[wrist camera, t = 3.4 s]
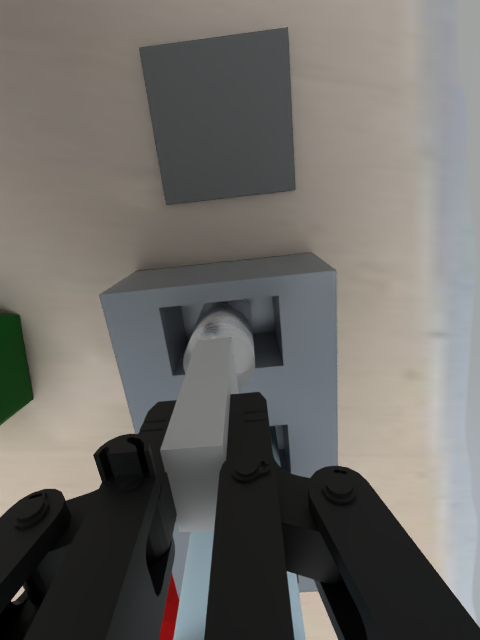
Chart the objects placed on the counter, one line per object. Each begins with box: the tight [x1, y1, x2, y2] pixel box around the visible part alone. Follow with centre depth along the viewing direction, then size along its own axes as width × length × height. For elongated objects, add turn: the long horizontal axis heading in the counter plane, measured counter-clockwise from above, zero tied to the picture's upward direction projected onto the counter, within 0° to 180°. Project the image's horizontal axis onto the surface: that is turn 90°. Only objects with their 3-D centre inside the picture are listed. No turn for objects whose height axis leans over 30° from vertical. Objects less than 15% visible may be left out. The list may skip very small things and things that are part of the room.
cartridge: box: [173, 426, 306, 640], centre depth 18 cm, size 5×5×16 cm
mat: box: [139, 27, 295, 205], centre depth 19 cm, size 8×8×1 cm
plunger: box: [183, 299, 255, 391], centre depth 18 cm, size 3×3×7 cm
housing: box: [99, 253, 338, 599], centre depth 23 cm, size 24×12×6 cm, turn 6°
